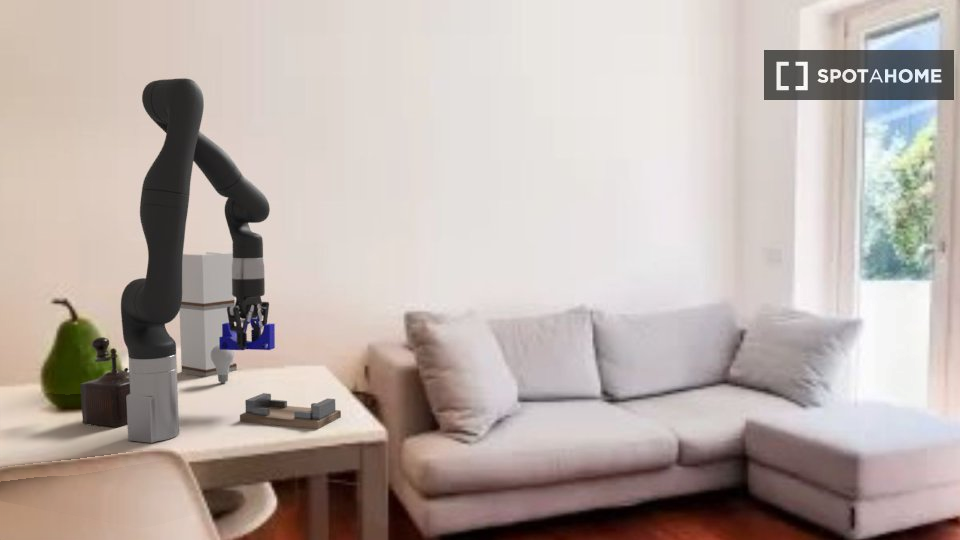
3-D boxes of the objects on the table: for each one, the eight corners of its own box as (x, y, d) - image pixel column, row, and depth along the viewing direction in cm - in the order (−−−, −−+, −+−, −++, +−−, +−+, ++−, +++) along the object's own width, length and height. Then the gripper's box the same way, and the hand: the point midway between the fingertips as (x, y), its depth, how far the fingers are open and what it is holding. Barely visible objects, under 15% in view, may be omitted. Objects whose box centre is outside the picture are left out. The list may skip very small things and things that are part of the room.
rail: (318, 428, 164) (317, 408, 164) (240, 421, 170) (239, 401, 170) (340, 417, 174) (340, 397, 173) (265, 410, 180) (265, 391, 180)
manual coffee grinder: (154, 415, 176) (151, 339, 174) (115, 428, 165) (112, 347, 164) (104, 409, 181) (101, 335, 180) (64, 421, 171) (60, 343, 170)
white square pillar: (236, 370, 226) (233, 253, 223) (206, 377, 217) (202, 255, 214) (212, 366, 232) (208, 252, 229) (181, 372, 223) (177, 254, 220)
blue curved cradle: (219, 349, 182) (219, 324, 182) (228, 346, 186) (227, 322, 186) (267, 351, 180) (267, 326, 180) (274, 348, 185) (274, 323, 185)
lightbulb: (210, 382, 210) (209, 343, 209) (233, 380, 213) (232, 341, 212) (212, 386, 205) (211, 346, 204) (236, 384, 207) (235, 344, 206)
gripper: (243, 279, 174) (244, 352, 175) (278, 275, 188) (279, 342, 189) (215, 278, 177) (217, 350, 178) (252, 274, 190) (253, 341, 191)
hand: (249, 346), depth 183 cm, fingers closed on blue curved cradle, 5 cm apart
